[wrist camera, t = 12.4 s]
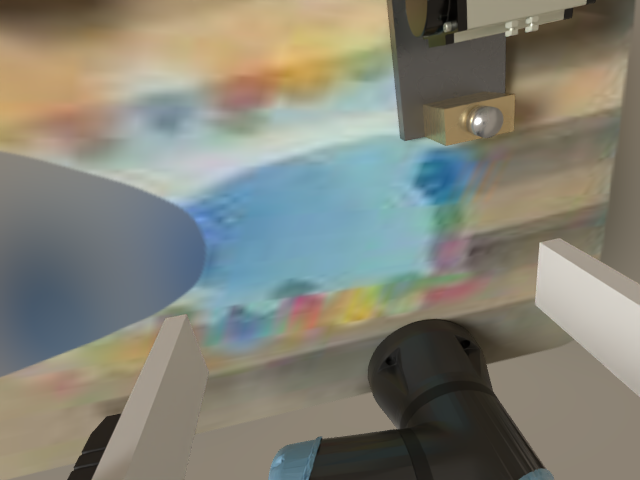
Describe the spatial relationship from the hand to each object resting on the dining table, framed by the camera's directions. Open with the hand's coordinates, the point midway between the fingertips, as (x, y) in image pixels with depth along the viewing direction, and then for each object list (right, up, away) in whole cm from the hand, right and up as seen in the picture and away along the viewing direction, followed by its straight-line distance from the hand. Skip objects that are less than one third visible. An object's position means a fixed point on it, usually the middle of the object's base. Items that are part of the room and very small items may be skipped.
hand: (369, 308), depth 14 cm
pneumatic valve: (+9, +22, +19) cm, 31 cm away
